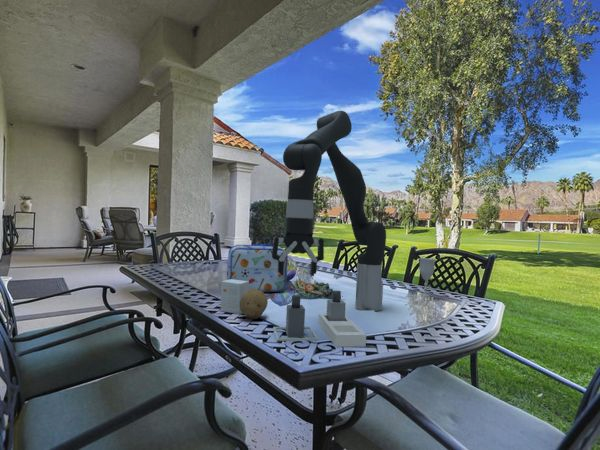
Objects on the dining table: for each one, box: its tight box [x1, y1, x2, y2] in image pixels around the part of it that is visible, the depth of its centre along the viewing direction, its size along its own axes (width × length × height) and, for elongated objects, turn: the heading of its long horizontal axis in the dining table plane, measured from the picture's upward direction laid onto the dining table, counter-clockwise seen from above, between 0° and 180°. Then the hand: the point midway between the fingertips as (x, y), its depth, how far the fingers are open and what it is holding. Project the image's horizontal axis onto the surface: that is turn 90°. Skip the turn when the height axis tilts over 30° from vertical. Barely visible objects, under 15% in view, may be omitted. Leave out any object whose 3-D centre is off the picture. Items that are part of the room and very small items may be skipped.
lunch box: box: [226, 242, 289, 293], centre depth 155 cm, size 28×10×22 cm, turn 107°
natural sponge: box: [240, 289, 269, 320], centre depth 111 cm, size 9×9×10 cm
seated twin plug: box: [326, 290, 347, 321], centre depth 103 cm, size 4×4×11 cm
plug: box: [285, 294, 306, 338], centre depth 96 cm, size 4×4×11 cm
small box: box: [220, 279, 249, 315], centre depth 120 cm, size 8×6×10 cm
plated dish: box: [290, 275, 334, 301], centre depth 158 cm, size 35×28×7 cm
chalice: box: [418, 257, 437, 298], centre depth 153 cm, size 7×7×18 cm
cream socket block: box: [317, 312, 367, 348], centre depth 98 cm, size 20×8×5 cm, turn 10°
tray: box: [273, 326, 319, 342], centre depth 96 cm, size 11×10×2 cm
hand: (296, 275), depth 96 cm, fingers open, 8 cm apart
